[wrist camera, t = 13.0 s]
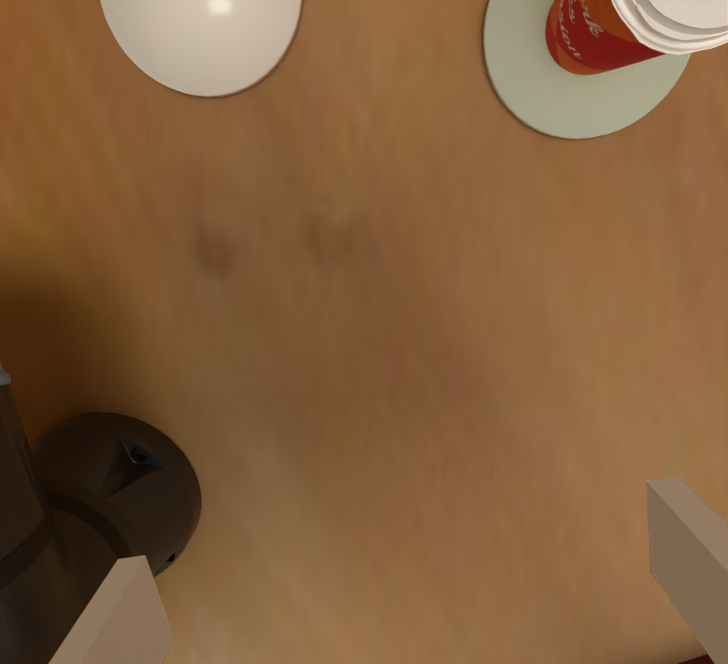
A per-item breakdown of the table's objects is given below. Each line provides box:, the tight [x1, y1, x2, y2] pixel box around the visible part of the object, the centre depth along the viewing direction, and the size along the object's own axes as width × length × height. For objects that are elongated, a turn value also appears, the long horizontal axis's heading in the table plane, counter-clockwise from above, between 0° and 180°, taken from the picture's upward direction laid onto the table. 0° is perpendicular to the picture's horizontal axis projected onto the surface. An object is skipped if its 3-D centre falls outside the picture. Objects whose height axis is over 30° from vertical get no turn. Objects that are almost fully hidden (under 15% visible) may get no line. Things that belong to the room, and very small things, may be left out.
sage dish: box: [482, 0, 692, 139], centre depth 34 cm, size 13×13×1 cm
